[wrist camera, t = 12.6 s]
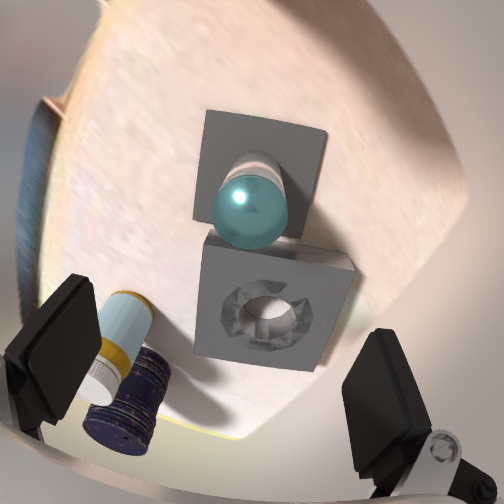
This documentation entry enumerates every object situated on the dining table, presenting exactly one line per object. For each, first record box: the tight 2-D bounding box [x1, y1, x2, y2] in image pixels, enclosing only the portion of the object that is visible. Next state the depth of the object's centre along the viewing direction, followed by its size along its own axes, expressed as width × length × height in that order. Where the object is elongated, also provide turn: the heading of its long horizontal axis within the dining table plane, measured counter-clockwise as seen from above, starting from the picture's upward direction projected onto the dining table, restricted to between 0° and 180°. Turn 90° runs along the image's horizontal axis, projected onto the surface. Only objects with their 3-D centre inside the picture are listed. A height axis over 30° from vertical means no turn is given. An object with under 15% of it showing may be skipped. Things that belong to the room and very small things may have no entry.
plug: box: [211, 151, 288, 250], centre depth 25 cm, size 5×5×12 cm
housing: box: [194, 229, 355, 372], centre depth 36 cm, size 16×16×4 cm
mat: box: [193, 110, 326, 239], centre depth 31 cm, size 12×12×1 cm
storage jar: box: [82, 346, 171, 456], centre depth 39 cm, size 10×10×15 cm
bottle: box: [76, 291, 153, 406], centre depth 34 cm, size 7×7×15 cm
